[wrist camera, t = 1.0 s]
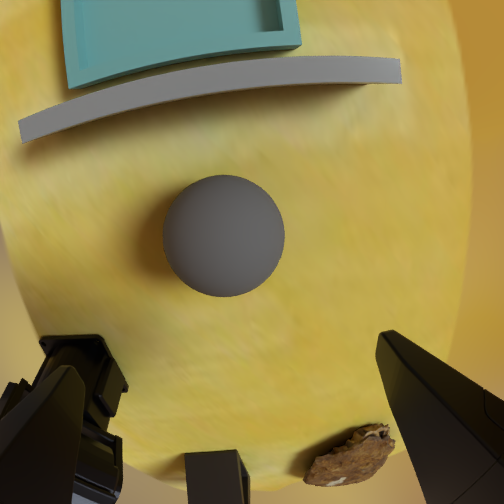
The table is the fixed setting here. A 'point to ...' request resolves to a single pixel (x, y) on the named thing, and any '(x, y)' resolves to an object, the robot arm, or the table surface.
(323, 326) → the table surface
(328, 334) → the table surface
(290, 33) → the dish
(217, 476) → the phone stand
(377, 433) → the decorative rock
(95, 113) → the low wall
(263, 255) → the ball
